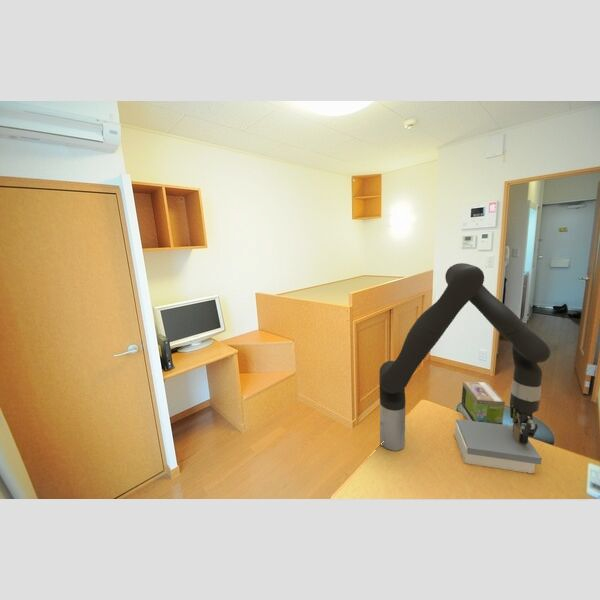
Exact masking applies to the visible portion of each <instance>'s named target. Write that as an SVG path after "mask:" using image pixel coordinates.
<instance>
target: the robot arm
mask: <svg viewBox="0 0 600 600" xmlns="http://www.w3.org/2000/svg"><path fill="white" fill-rule="evenodd" d="M444 277H445V282H446V284H447V286H446V288H445V290H444V291H443V293H442V294H441V295H440V297H439V298H438V300H437V301H435V303H433V304H432V305H431V306H430V307H428V308H427V309H426V310H424V312H423V313H421V315H420V316H419V317H418V318H417V319H416V320H415V322H414V324H412V326H411V327H410V329H409V330H408V333H407V335H406V337H405V339H404V342H403V345H402V348H401V350H400V353H399V355H397V358H396V359H395V360H387V361H385V362H383V363H382V364H381V365H380V368H379V371H378V372H379V373H378V374H379V375H378V376H379V377H378V378H379V445H380V444H381V443H382V442H383V441H384V442H383V443H382V445H381V446H380V447H383V448H385V449H387V450H390V451H394V452H395V451H398V452H399V451H400V450H403V449H404V448H405V446H406V445H405V443H406V393H405V392H406V389H405V388H406V387H407V386H408V384H409V383H410V381H411V378H412V377H413V376H414V373H415V372H416V370H417V368H418V367H419V366H420V364H421V363H422V362H423V361H424V360H425V358H426V357H427V356H428V354H429V353H430V352H431V350H432V349H433V348H434V346H436V344H437V343H438V341H439V340H440V339H441V337H442V336H443V335H444V333H445V332H446V330H447V329H448V328H449V327H450V325H451V324H452V322H453V321H454V319H455V318H456V317H457V315H458V314H459V312H460V311H461V310H462V309H463V308H464V306H466V304H468V303H471V304H472V305H473V307H475V308H476V309H477V310H478V312H480V314H482V315H483V317H484V318H485V319H486V320H487V321H488V322H489V324H491V325H492V327H494V329H495V330H496V331H497V332H498V333H499V334H500V335H501V336H502V337H503V338H504V339H506V340H507V341H509V342H510V343H511V345H512V346H511V348H512V349H511V350H512V351H511V352H512V358H513V364H514V370H513V377H512V378H513V379H512V383H511V387H510V396H509V412H510V413H509V415H510V416H509V417H510V418H511V419H512V423H513V425H512V426H513V430H514V423H518V425H519V426H520V436H519V442H520V443H524V444H527V443H528V440H529V438H530V437H531V438H534V437H535V434H536V432H537V431H538V428H539V426H538V424H537V423H534V421H533V420H534V416H533V414H534V413H537V412H538V411H539V408H540V403H541V394H542V388H541V387H542V379H543V369H542V368H541V367H540V366H539V364H540V363H544V362H546V361H547V360H548V359H550V357H551V349H550V347H549V345H548V344H547V343H546V341H544V340H543V339H542V338H541V337H540V336H539V335H537V334H536V333H535V332H533V331H532V330H531V329H530V328H529V327H528V326H527V325H526V323H524V322H523V321H522V319H521V318H520V317H518V315H517V314H516V313H515V312H514V311H513V310H511V309H510V308H509V307H508V306H507V305H506V304H504V303H503V302H502V301H501V300H499V298H497V297H496V296H495V295H494V294H492V292H490V291H489V290H488V288H486V286H485V285H484V281H485V275H484V271H483V270H482V269H481V268H480V267H478V266H476V265H473V264H470V263H465V262H459V263H455V264H453V265H451V266H450V267H448V269H447V270H446V271H445V276H444ZM523 428H525V429H524V430H523Z"/></svg>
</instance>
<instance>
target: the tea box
mask: <svg viewBox="0 0 600 600" xmlns="http://www.w3.org/2000/svg"><path fill="white" fill-rule="evenodd" d="M461 391H462V393H461V405H460V410H461V413H462V414H463V415H464V417H465V418H466V419H465V420H468V421H477V422H486V423H494V424H504V422H503V419H504V411H505V405H506V403H505V402H506V401H505V400H504V399H503V398H502V397H501V396H500V395H499V394H498V393H497V391H496V390H495V389H494V388H493V386H491V385H490V384H489V383H488V382H485V381H483V382H482V381H465V380H464V381H462V390H461Z"/></svg>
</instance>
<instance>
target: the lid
mask: <svg viewBox="0 0 600 600" xmlns="http://www.w3.org/2000/svg"><path fill="white" fill-rule="evenodd" d="M455 422H457V423H458V426H459V428H460V431H461V433H462V435H463V438H464V440H465V443H466V445H467V448H468V454H472V455H479V456H486V457H493V458H500V459H506V460H513V461H520V462H527V463H534V464H535V465H541V464H542V456H541V455H540V454H539V452H538V451H537V450H536V448H535V447H534V445H533V444H532V442H531V441H530V440H529V439H528V443H527V444H524V443H520V442H519V436H520V426H519V425H518V423H513V424H514V430H513V425H510V424H504V423H502V424H494V423H486V422H477V421H468V420H467V419H459V418H457V419H456V421H455ZM524 429H525V428H523V430H524Z"/></svg>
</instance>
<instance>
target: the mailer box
mask: <svg viewBox="0 0 600 600" xmlns="http://www.w3.org/2000/svg"><path fill="white" fill-rule="evenodd" d="M454 437H455V439H456V443H457V445H458V448H459V451H460V454H461V455H462V459H463V461H464V462H463V463H465V464H468V465H469V464H470V465H474V466H481V467H489V468H495V469H500V470H506V471H507V470H509V471H515V472H521V473H526V474H532V473H534V474H535V468H536V464H534V463H527V462H520V461H513V460H506V459H500V458H493V457H486V456H479V455H472V454H468V448H467V445H466V443H465V440H464V438H463V435H462V433H461V431H460V428H459V426H458V423H457V422H456V421H455V426H454ZM527 472H528V473H527Z"/></svg>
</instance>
